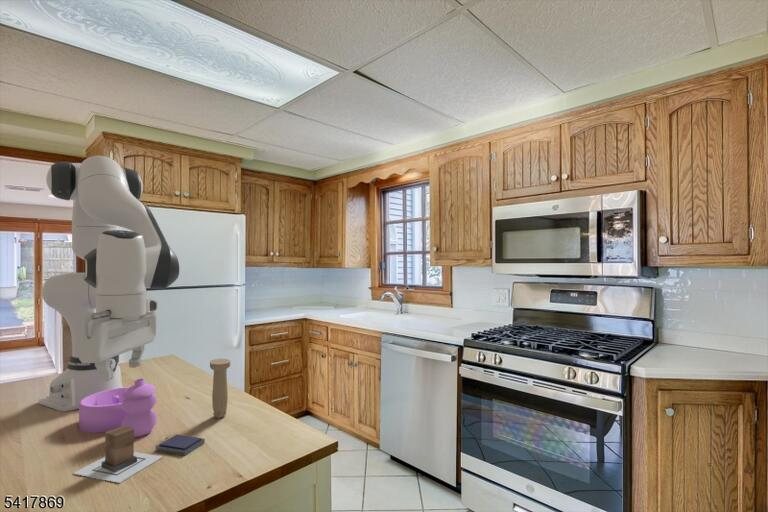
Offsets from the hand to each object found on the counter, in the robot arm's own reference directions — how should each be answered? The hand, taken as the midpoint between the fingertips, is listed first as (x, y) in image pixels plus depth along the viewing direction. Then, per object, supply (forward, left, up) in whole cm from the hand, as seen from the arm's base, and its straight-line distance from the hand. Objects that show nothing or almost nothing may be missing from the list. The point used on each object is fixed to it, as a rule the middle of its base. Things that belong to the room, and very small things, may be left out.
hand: (121, 373), depth 81 cm
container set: (-18, +16, -19) cm, 31 cm away
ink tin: (+6, +10, -19) cm, 22 cm away
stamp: (0, 0, -19) cm, 19 cm away
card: (0, 0, -19) cm, 19 cm away
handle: (+3, +27, -19) cm, 33 cm away
